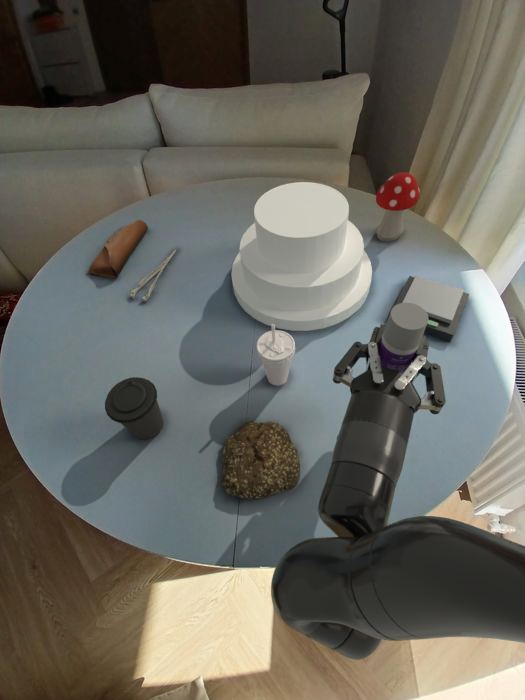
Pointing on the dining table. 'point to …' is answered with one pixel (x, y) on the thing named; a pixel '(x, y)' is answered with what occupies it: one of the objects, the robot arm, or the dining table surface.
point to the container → (402, 335)
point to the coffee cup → (135, 407)
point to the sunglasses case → (118, 250)
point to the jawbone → (148, 277)
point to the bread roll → (259, 461)
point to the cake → (301, 259)
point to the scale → (436, 304)
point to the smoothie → (276, 354)
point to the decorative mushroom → (396, 204)
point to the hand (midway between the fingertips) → (401, 333)
